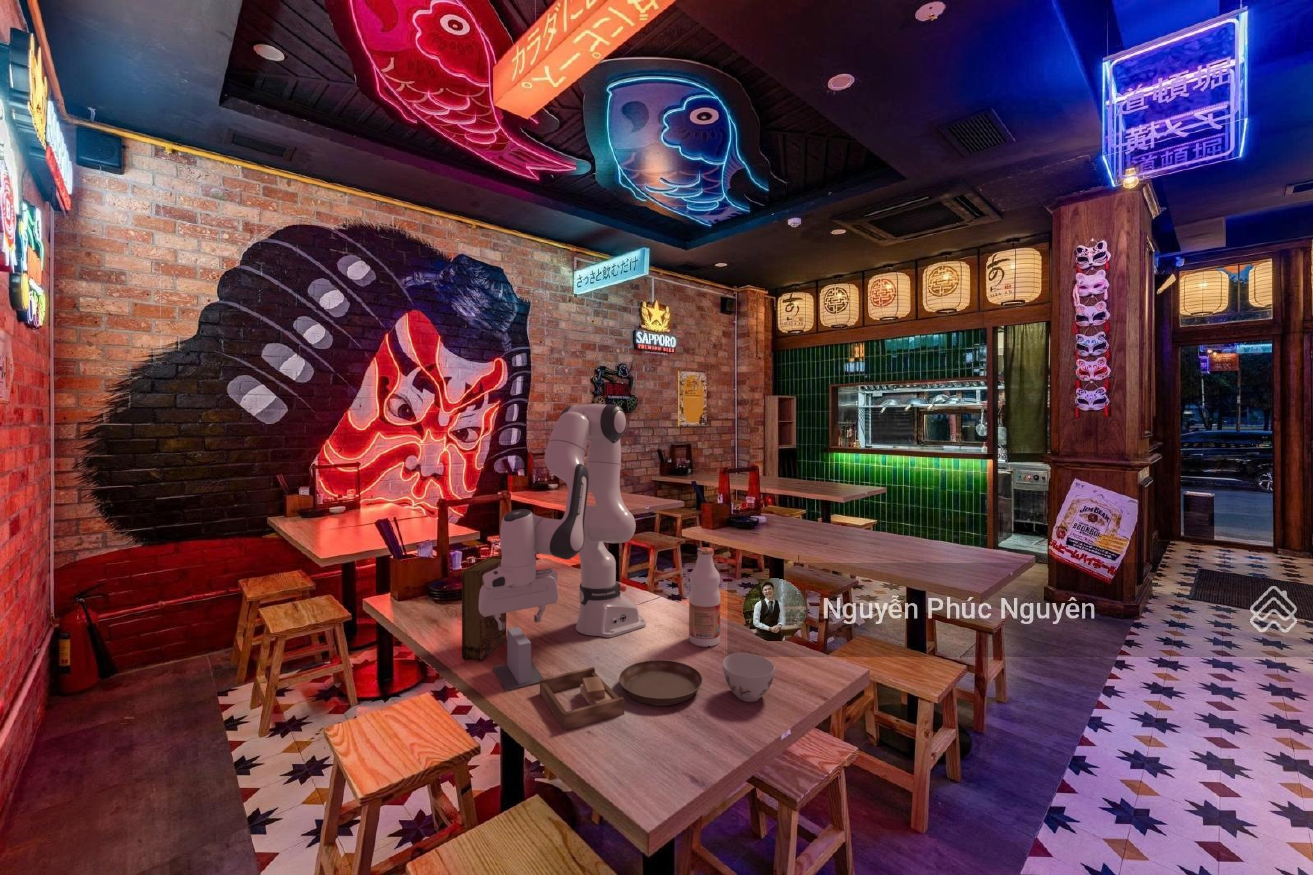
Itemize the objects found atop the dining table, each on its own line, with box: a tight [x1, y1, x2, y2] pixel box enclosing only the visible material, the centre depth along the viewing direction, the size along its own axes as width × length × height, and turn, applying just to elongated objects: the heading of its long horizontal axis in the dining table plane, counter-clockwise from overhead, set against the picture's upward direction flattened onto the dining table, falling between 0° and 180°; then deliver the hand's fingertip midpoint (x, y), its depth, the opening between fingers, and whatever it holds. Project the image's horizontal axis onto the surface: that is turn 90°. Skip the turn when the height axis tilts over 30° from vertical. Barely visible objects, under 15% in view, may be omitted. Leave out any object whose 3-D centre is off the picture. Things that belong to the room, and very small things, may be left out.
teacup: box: [722, 652, 776, 703], centre depth 131 cm, size 15×12×8 cm
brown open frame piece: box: [539, 666, 625, 732], centre depth 127 cm, size 14×18×4 cm
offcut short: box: [583, 675, 605, 702], centre depth 128 cm, size 4×7×2 cm, turn 16°
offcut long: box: [579, 684, 613, 706], centre depth 128 cm, size 4×10×2 cm, turn 30°
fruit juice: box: [688, 546, 722, 648], centre depth 163 cm, size 9×9×28 cm
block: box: [506, 626, 532, 685], centre depth 140 cm, size 3×12×10 cm, turn 29°
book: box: [461, 556, 507, 662], centre depth 156 cm, size 16×6×25 cm, turn 168°
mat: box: [492, 660, 545, 692], centre depth 141 cm, size 10×14×1 cm
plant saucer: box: [618, 659, 704, 707], centre depth 134 cm, size 21×21×3 cm
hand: (520, 625), depth 141 cm, fingers open, 8 cm apart
